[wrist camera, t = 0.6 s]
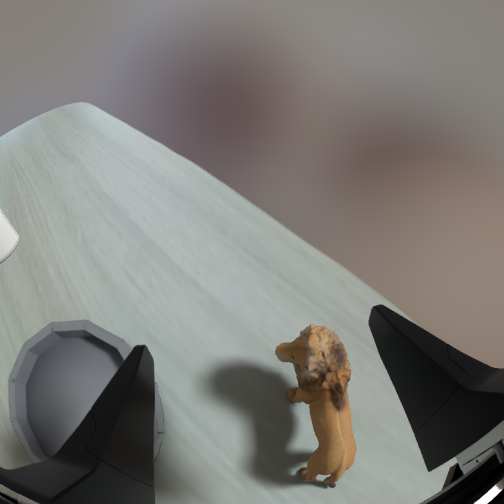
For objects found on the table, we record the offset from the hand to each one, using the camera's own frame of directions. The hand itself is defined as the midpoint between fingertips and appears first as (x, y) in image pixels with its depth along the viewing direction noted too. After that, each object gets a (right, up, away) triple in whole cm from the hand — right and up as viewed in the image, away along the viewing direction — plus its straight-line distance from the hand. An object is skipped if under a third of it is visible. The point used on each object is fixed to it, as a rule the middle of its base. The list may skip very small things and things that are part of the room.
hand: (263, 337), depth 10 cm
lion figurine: (+4, -12, +11) cm, 17 cm away
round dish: (-17, -12, +9) cm, 22 cm away
